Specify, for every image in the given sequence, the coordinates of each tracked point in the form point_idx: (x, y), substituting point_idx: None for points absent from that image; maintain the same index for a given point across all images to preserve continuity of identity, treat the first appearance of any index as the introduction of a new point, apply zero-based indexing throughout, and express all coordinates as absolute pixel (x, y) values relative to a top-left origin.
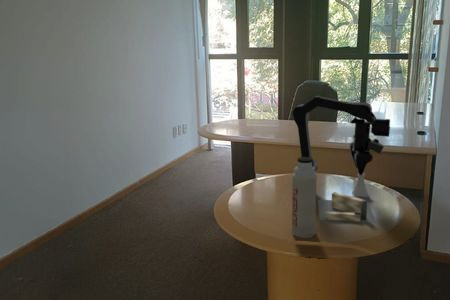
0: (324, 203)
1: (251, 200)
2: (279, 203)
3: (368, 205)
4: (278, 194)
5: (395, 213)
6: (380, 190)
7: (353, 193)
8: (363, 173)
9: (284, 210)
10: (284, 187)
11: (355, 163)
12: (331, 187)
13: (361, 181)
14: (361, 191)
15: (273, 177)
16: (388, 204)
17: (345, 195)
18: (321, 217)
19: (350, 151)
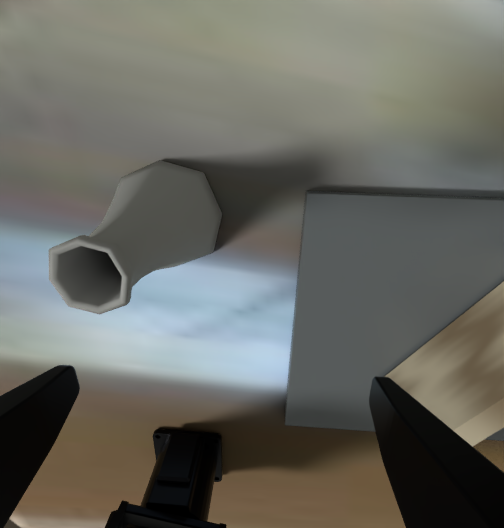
0: (332, 407)
1: None
2: (305, 520)
3: (372, 201)
4: (213, 518)
5: (487, 17)
6: (26, 40)
7: (184, 262)
8: (60, 250)
9: (373, 513)
10: (132, 499)
11: (37, 455)
12: (73, 342)
13: (152, 250)
14: (198, 226)
15: (28, 520)
16: (311, 36)
17: (494, 411)
18: (498, 434)
19: None
